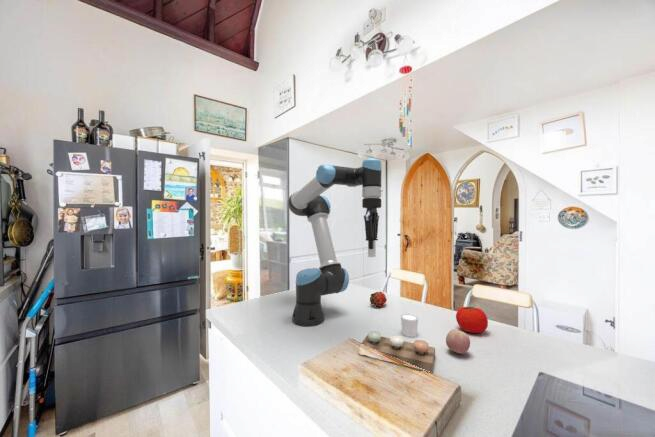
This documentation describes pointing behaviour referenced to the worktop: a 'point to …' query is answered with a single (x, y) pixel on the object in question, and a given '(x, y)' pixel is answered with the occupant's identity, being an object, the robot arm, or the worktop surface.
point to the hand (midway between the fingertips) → (371, 256)
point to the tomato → (472, 319)
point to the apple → (458, 341)
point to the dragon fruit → (378, 299)
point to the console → (405, 353)
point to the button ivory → (396, 341)
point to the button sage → (374, 336)
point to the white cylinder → (409, 325)
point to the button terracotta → (421, 346)
